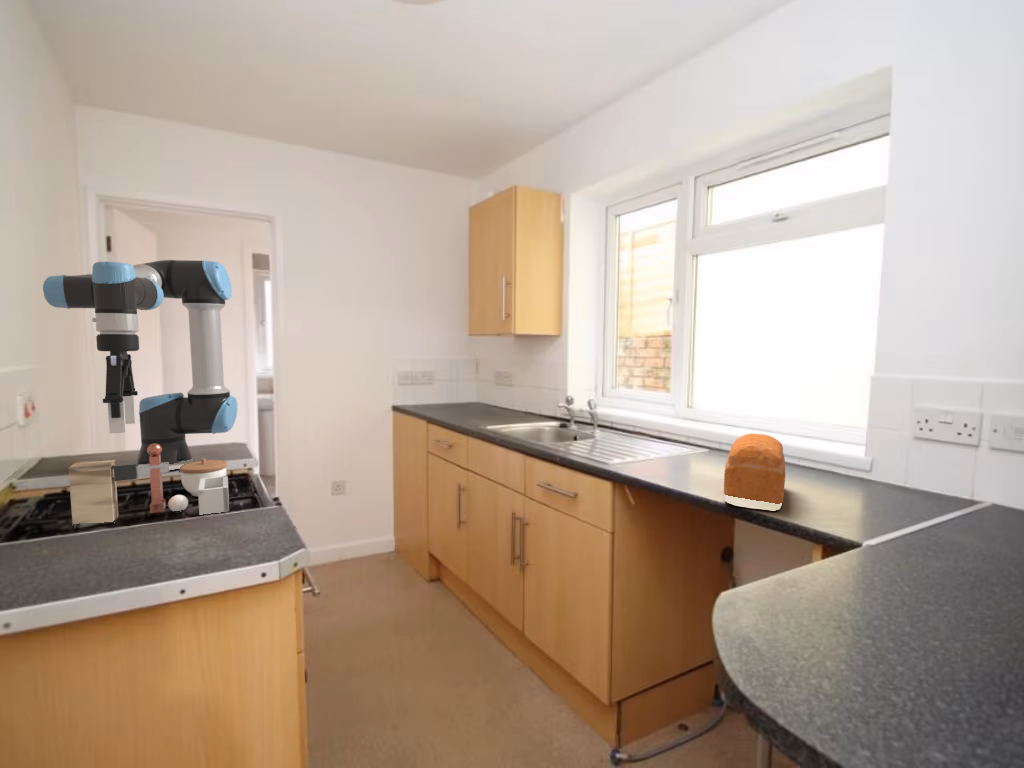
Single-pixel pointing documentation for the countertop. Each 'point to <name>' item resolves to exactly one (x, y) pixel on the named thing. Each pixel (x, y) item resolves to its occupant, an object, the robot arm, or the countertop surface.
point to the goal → (213, 495)
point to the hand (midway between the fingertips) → (123, 428)
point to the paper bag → (93, 492)
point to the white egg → (177, 503)
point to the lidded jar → (200, 473)
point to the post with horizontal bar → (154, 469)
